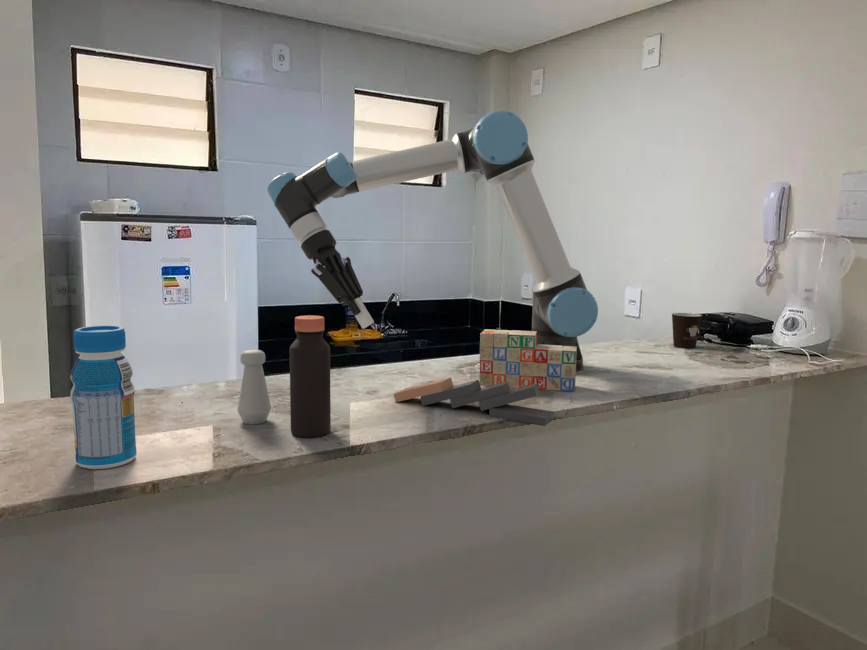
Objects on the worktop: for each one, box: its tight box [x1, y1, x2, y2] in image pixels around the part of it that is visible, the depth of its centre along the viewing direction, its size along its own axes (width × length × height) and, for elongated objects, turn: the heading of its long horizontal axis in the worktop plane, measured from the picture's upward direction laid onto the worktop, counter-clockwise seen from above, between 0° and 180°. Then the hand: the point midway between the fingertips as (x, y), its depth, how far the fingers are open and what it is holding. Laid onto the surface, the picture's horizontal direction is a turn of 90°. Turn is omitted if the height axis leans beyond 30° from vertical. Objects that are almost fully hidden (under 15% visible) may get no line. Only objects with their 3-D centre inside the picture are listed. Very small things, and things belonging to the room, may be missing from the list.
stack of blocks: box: [478, 328, 577, 393], centre depth 151 cm, size 21×6×12 cm, turn 76°
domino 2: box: [449, 381, 511, 409], centre depth 131 cm, size 2×5×11 cm
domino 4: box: [488, 404, 555, 427], centre depth 126 cm, size 2×5×11 cm
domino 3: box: [478, 383, 540, 411], centre depth 128 cm, size 2×5×11 cm
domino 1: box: [419, 379, 482, 407], centre depth 133 cm, size 2×5×11 cm
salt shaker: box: [237, 349, 272, 426], centre depth 120 cm, size 6×6×13 cm
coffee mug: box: [671, 312, 710, 350], centre depth 204 cm, size 12×9×10 cm
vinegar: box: [289, 314, 332, 439], centre depth 113 cm, size 7×7×20 cm
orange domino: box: [393, 377, 454, 403], centre depth 135 cm, size 2×5×11 cm
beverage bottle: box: [69, 325, 138, 470], centre depth 98 cm, size 8×8×20 cm
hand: (368, 325), depth 150 cm, fingers closed
